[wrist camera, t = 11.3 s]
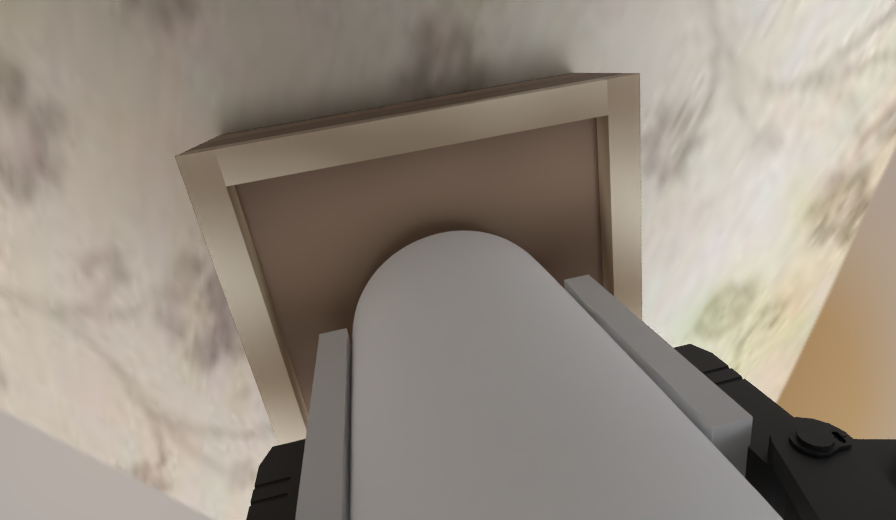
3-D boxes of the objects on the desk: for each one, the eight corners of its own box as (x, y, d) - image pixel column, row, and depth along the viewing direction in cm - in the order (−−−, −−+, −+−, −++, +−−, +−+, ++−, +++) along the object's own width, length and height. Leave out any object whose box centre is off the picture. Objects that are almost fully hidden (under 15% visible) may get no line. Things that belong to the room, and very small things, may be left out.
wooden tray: (220, 135, 17) (174, 156, 13) (572, 73, 19) (639, 73, 14) (314, 428, 22) (304, 516, 18) (589, 362, 24) (643, 428, 19)
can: (431, 439, 17) (564, 1081, 6) (307, 310, 15) (169, 994, 4) (585, 333, 17) (1018, 825, 6) (483, 181, 14) (899, 540, 3)
